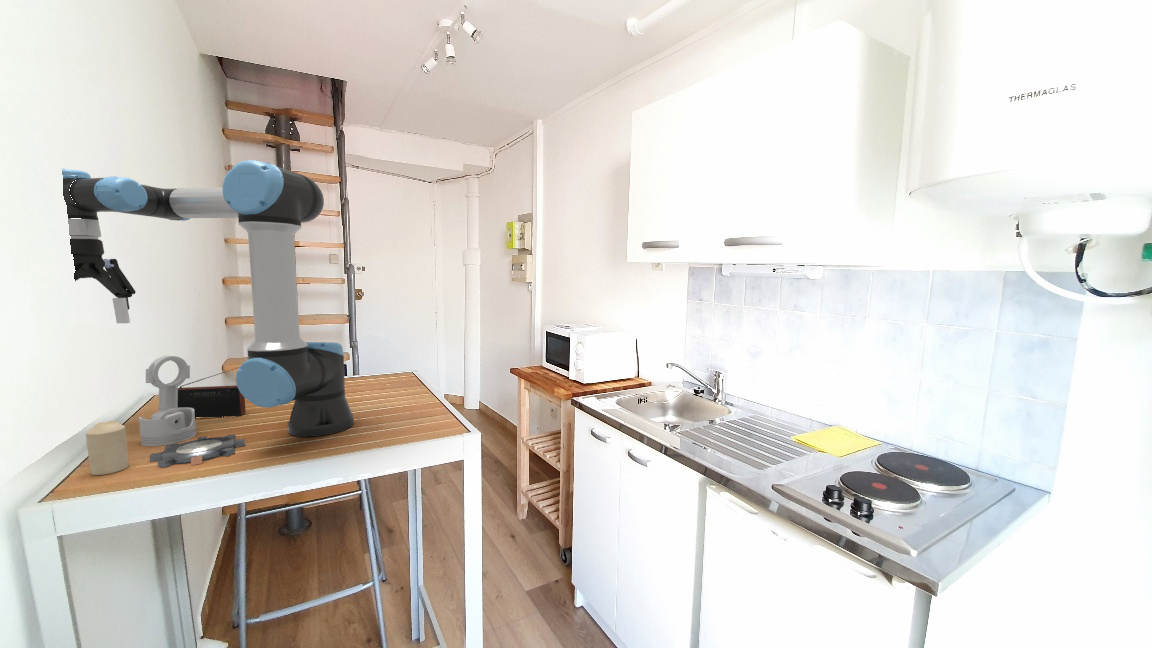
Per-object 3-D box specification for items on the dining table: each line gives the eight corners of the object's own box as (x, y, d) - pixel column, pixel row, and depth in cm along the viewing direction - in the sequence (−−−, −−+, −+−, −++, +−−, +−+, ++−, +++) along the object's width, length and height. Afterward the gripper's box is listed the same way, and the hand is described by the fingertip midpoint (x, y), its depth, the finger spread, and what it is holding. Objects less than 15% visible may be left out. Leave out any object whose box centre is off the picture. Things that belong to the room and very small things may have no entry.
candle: (104, 476, 89) (99, 428, 88) (82, 474, 89) (77, 426, 88) (136, 465, 94) (131, 419, 93) (115, 463, 95) (110, 417, 94)
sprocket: (262, 441, 108) (261, 436, 108) (195, 470, 92) (194, 463, 92) (203, 437, 110) (203, 432, 110) (128, 464, 94) (128, 458, 94)
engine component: (129, 444, 106) (163, 447, 104) (121, 359, 104) (155, 361, 102) (178, 429, 116) (210, 432, 114) (172, 352, 114) (204, 353, 112)
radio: (172, 420, 123) (167, 367, 122) (179, 417, 126) (174, 365, 125) (248, 416, 128) (245, 365, 126) (253, 413, 131) (250, 363, 129)
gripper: (117, 240, 117) (130, 320, 120) (-6, 236, 92) (15, 336, 96) (145, 240, 117) (158, 319, 120) (30, 235, 92) (50, 335, 96)
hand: (95, 327), depth 108 cm, fingers open, 13 cm apart
